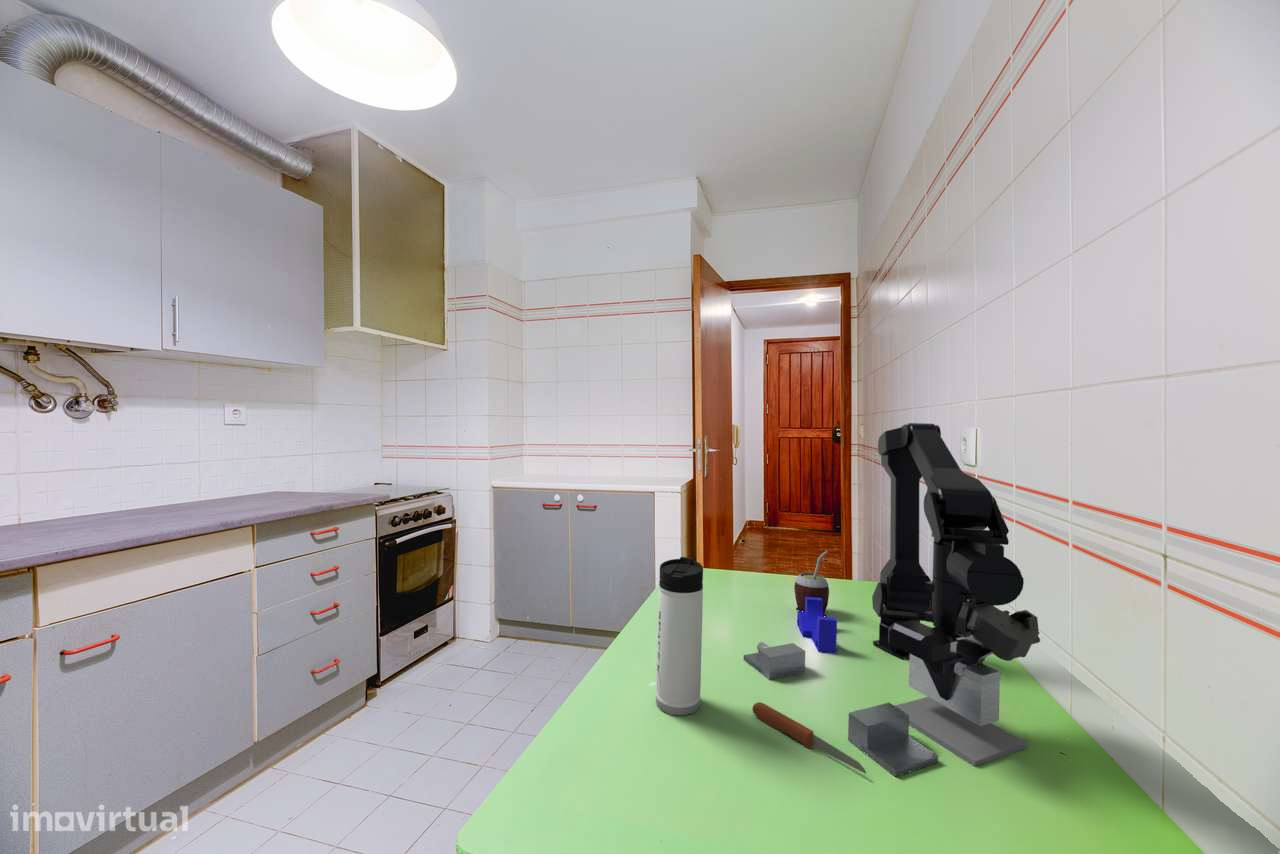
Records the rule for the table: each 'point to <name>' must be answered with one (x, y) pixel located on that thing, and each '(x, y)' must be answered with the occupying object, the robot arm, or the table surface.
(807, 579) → the mate gourd
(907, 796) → the table surface
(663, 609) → the travel mug
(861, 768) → the kitchen knife
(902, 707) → the mat
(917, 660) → the steel bar
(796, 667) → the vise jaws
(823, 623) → the blue stepped block
